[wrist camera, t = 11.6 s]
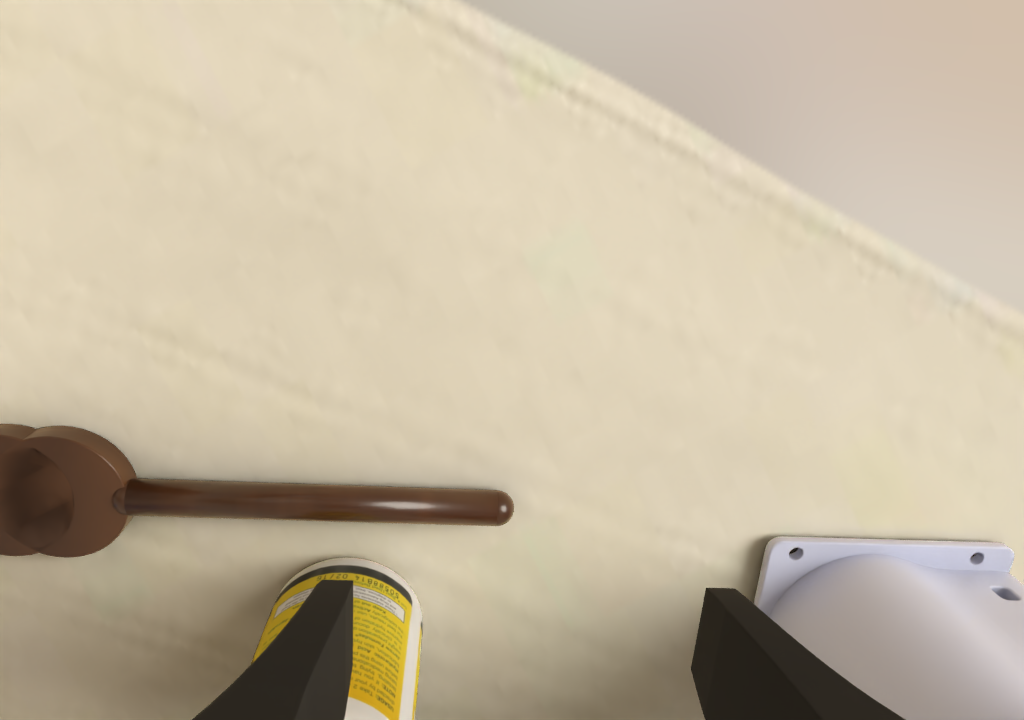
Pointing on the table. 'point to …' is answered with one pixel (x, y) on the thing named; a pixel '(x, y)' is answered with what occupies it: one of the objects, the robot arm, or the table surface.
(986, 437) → the table surface
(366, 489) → the walnut spoon
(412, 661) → the supplement bottle
